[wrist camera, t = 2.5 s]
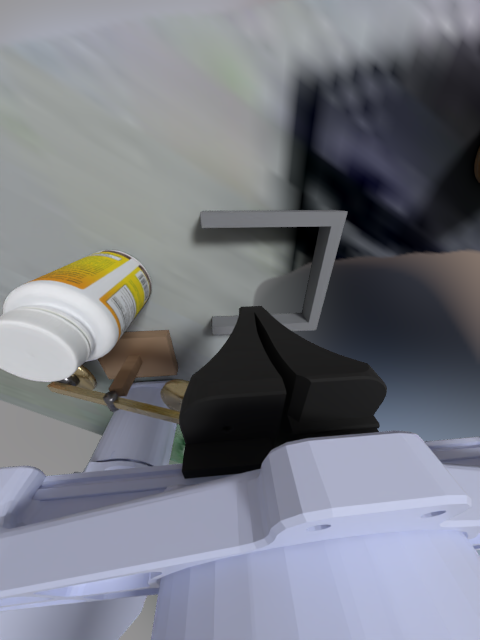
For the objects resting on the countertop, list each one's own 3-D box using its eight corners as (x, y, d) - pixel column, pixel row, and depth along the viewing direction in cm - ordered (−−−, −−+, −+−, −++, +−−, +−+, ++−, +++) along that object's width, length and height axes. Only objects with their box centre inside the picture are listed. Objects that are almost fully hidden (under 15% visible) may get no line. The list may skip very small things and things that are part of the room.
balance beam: (216, 419, 18) (207, 446, 16) (67, 383, 22) (45, 402, 20) (212, 385, 15) (200, 412, 13) (43, 351, 19) (14, 368, 17)
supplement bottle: (75, 273, 17) (-73, 350, 8) (114, 234, 16) (-18, 277, 7) (129, 315, 20) (57, 404, 11) (166, 284, 18) (117, 360, 10)
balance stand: (178, 367, 24) (167, 408, 20) (113, 371, 24) (87, 414, 19) (168, 330, 21) (153, 367, 16) (93, 333, 21) (55, 373, 16)
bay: (202, 211, 15) (200, 212, 13) (334, 210, 16) (347, 211, 14) (213, 324, 21) (212, 335, 19) (308, 319, 22) (315, 329, 20)
